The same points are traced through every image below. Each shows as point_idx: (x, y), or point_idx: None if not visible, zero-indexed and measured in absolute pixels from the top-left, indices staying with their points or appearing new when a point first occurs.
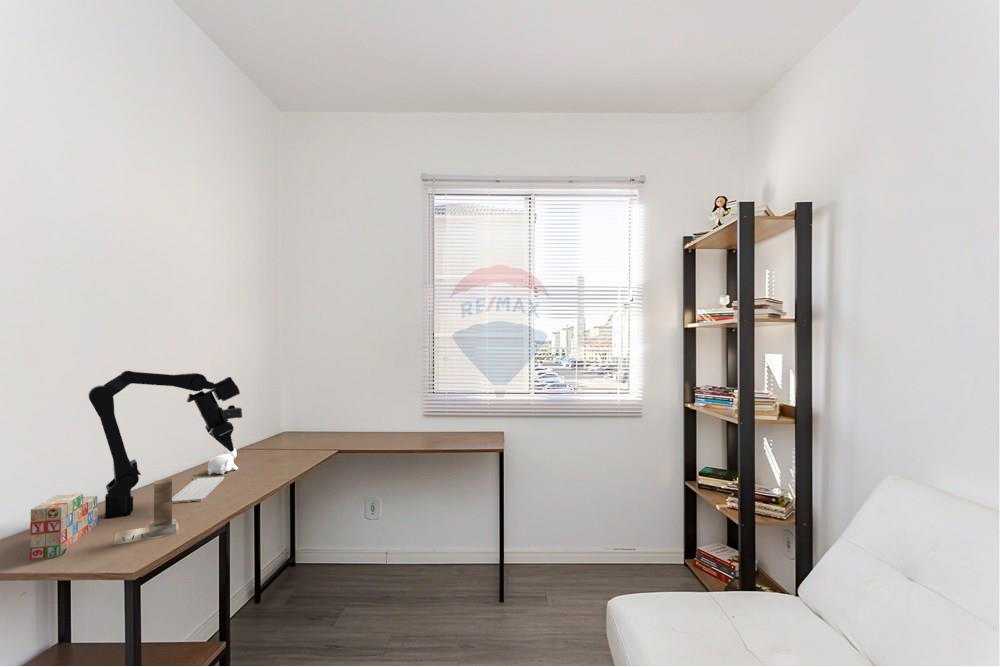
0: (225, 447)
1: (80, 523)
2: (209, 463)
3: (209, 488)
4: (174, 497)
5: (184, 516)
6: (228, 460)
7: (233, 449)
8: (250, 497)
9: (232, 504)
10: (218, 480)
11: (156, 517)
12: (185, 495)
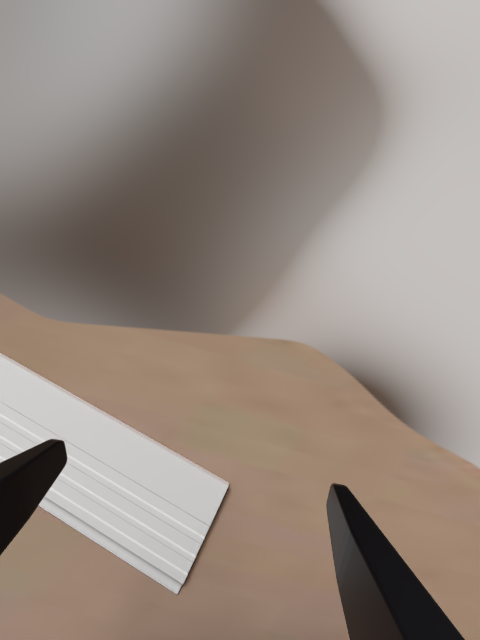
0: (56, 478)
1: None
2: None
3: (104, 426)
4: (120, 548)
5: None
6: None
7: (351, 496)
8: (287, 342)
9: (336, 411)
10: (12, 370)
11: None
12: (138, 518)
